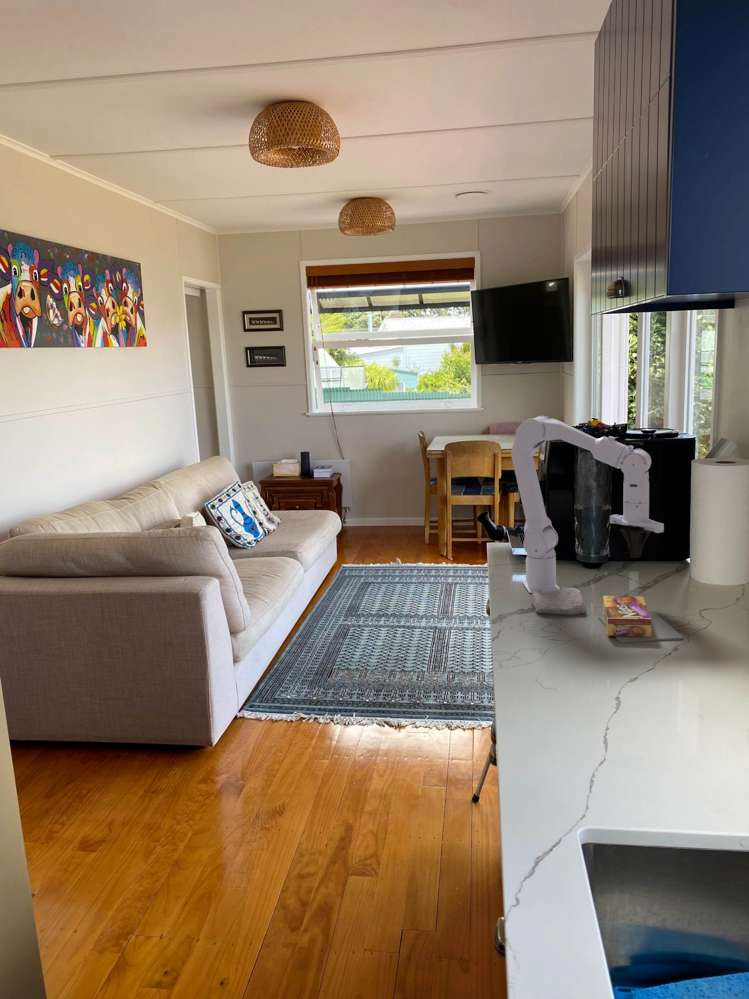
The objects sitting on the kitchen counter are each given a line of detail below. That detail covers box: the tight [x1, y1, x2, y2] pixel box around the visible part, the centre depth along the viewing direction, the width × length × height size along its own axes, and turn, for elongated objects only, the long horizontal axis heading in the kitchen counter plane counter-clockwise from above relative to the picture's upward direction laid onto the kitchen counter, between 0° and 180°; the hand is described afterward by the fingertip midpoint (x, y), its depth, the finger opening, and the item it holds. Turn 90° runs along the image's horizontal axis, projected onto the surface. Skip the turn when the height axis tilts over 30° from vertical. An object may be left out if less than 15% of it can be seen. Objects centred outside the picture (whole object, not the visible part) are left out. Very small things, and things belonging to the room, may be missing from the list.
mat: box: [598, 613, 684, 644], centre depth 161 cm, size 15×13×1 cm
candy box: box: [602, 595, 652, 637], centre depth 162 cm, size 9×4×15 cm
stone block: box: [530, 587, 586, 616], centre depth 176 cm, size 12×5×10 cm
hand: (635, 557), depth 178 cm, fingers closed
